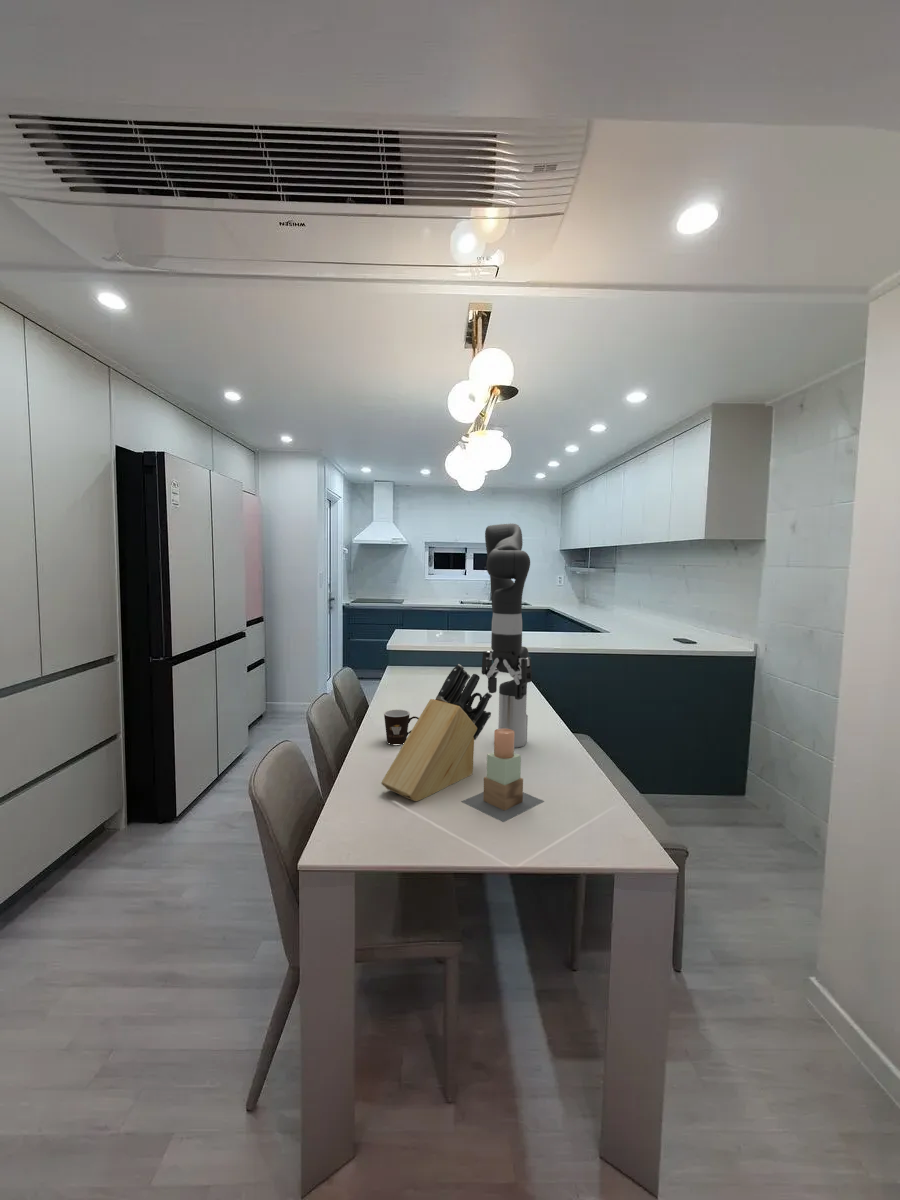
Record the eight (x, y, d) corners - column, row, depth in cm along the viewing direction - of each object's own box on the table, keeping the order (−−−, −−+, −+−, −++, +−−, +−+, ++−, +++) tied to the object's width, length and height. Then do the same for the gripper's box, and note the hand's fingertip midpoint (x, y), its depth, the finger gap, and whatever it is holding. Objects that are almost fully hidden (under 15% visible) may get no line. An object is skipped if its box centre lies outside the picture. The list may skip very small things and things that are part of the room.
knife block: (493, 766, 155) (495, 664, 153) (410, 807, 128) (412, 684, 126) (464, 757, 162) (465, 659, 160) (380, 794, 135) (380, 677, 133)
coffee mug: (379, 744, 172) (379, 714, 172) (391, 736, 180) (391, 708, 180) (410, 749, 168) (410, 719, 167) (421, 741, 176) (422, 712, 175)
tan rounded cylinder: (502, 749, 134) (503, 727, 133) (518, 755, 130) (518, 731, 130) (489, 754, 130) (490, 731, 130) (505, 760, 127) (505, 736, 126)
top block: (502, 771, 135) (502, 749, 134) (520, 778, 131) (520, 755, 130) (486, 777, 131) (487, 754, 130) (504, 785, 126) (505, 761, 126)
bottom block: (501, 792, 136) (502, 770, 136) (522, 801, 131) (523, 778, 130) (483, 800, 131) (483, 777, 131) (504, 810, 126) (505, 786, 126)
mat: (502, 785, 142) (502, 783, 142) (544, 803, 132) (544, 801, 131) (461, 803, 131) (461, 801, 131) (503, 824, 121) (503, 822, 120)
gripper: (539, 633, 125) (537, 698, 127) (495, 627, 136) (494, 688, 137) (519, 635, 120) (518, 704, 121) (475, 629, 131) (474, 692, 132)
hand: (505, 695), depth 129 cm, fingers open, 8 cm apart
